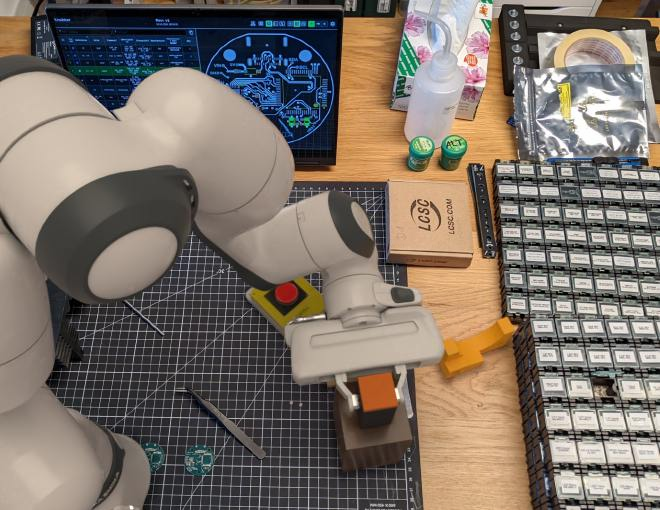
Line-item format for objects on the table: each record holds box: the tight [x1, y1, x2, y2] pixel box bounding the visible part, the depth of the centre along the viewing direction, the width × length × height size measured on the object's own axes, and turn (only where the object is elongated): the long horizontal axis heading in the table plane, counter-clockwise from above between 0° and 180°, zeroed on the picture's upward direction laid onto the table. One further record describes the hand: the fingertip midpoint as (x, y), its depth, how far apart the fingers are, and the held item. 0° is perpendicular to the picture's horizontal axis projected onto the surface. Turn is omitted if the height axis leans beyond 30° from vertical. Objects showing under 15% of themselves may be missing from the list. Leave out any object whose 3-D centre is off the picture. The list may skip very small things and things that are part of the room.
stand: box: [332, 374, 414, 473], centre depth 91 cm, size 9×9×16 cm
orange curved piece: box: [438, 316, 516, 380], centre depth 102 cm, size 12×4×6 cm, turn 111°
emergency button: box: [245, 276, 327, 337], centre depth 106 cm, size 9×4×15 cm
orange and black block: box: [355, 372, 398, 429], centre depth 79 cm, size 4×4×9 cm
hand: (377, 407), depth 78 cm, fingers closed on orange and black block, 4 cm apart
